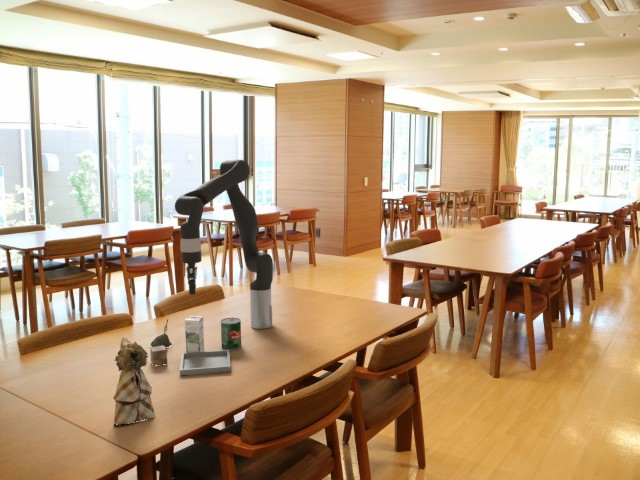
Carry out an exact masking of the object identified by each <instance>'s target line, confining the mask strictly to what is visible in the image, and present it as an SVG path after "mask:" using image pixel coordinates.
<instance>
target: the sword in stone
mask: <svg viewBox="0 0 640 480" xmlns="http://www.w3.org/2000/svg"><path fill="white" fill-rule="evenodd" d="M168 323H169V319H167V318H166V324H165V326H163V327H164V328H163V332H164V333H163V334H160V335H158V336H156V337H155V338H154V339H153V340H152V341H151V342H150V346H152V347H156V346H163V345H164V346H165V348H166V347H169V346H170V345H173V344H172V342H171V340H170V338H169V335H168V334H167V331H168Z"/></svg>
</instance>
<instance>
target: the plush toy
mask: <svg viewBox="0 0 640 480" xmlns="http://www.w3.org/2000/svg"><path fill="white" fill-rule="evenodd" d="M119 347H120V348H119V350H118V352H117V355H116V356H115V359H114V360H113V361H114V362H115V361H116V363H115V364H116V367H117V368H118V372H120V374H119V378H118V382H117V385H116V389H115V393H114V395H113V397H112V398H113V400H114V402H115V406H114V418H113V419H114V422H113V424H114V423H115V424H119V425H118V426H122V425H121V424H128V423H133V422H136V421H141V420H144V419H145V420H146V419H150V418H153V417H154V416H155V415H156V413H155V410H154V407H153V403H152V399H151V395H152V393H153V389H152V388H153V387H152V386H151V384H150V382H149V380H148V379H147V376H146V375H145V373H144V370H143V369H142V367H146V366H147V363H148V361H147V360H148V359H147V358H149V356H148V352H147V350H145V348H143V346H142V345H141V344H138V343H137V342H136V341H134V342H131V341H130V340H128V339H127V338H126V337H124V336H122V338H121V341H120V345H119ZM155 417H156V416H155ZM155 417H154V418H155ZM154 418H153V419H154ZM150 420H151V419H150Z"/></svg>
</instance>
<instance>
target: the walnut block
mask: <svg viewBox="0 0 640 480" xmlns="http://www.w3.org/2000/svg"><path fill="white" fill-rule="evenodd" d="M149 349H150V363H151V362H152V363H151V365H152V364H153V365H152V367H153V366H155V365H163V364H167V365H168V353H167V350H168V349H166V348H165V346H164V345H163V346H156V347H150V348H149Z"/></svg>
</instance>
